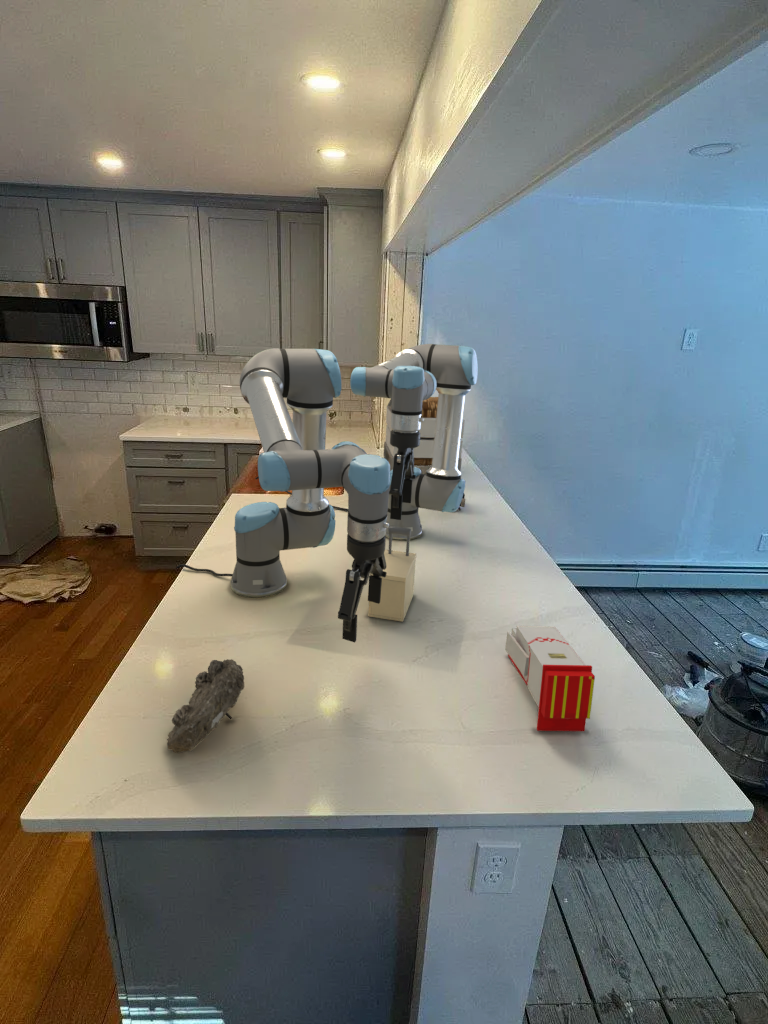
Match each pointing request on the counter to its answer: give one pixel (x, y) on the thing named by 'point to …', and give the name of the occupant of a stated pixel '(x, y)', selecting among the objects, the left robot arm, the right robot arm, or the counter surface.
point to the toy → (552, 677)
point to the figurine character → (462, 502)
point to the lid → (398, 557)
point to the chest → (394, 598)
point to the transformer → (427, 434)
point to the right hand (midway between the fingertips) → (401, 510)
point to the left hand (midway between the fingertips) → (362, 619)
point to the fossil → (206, 705)
